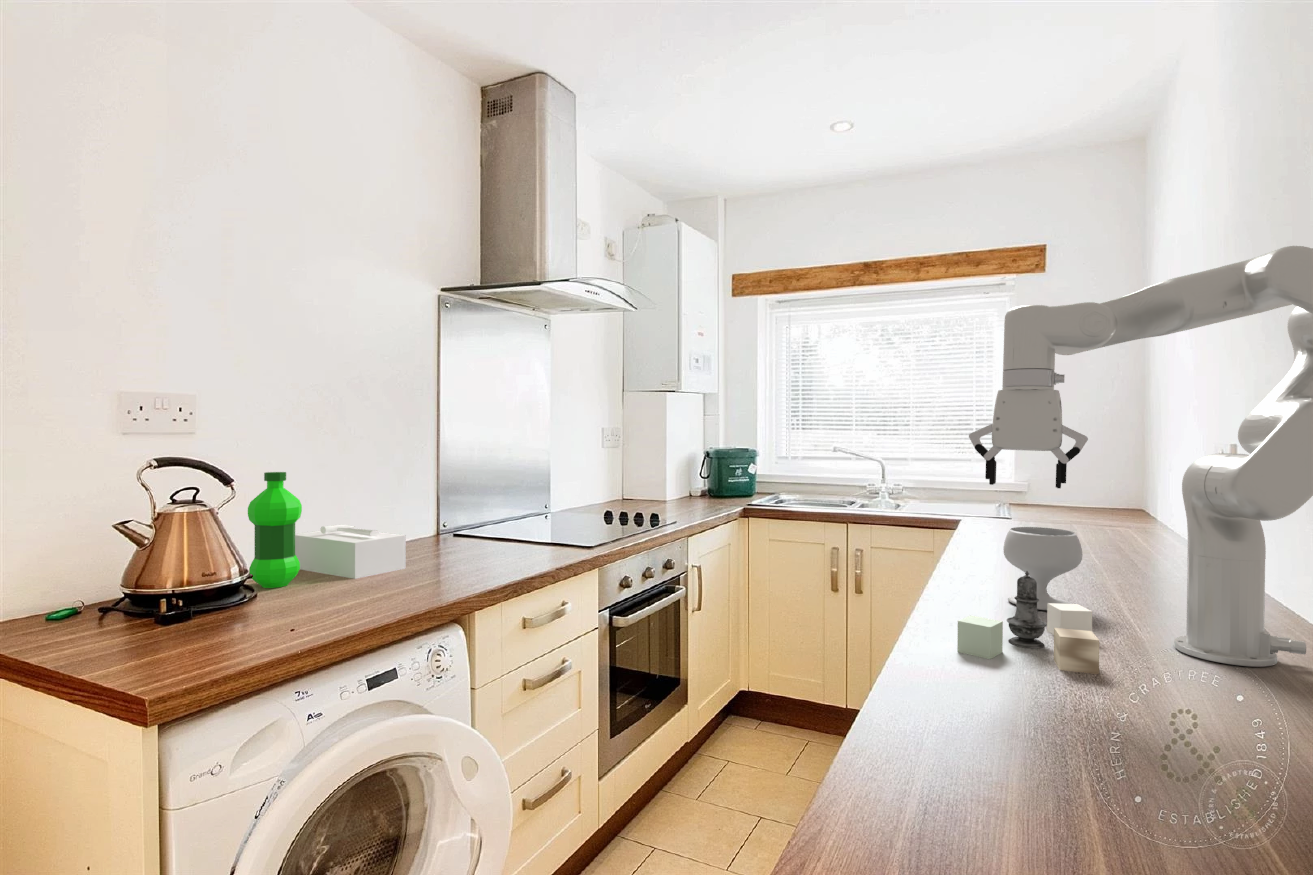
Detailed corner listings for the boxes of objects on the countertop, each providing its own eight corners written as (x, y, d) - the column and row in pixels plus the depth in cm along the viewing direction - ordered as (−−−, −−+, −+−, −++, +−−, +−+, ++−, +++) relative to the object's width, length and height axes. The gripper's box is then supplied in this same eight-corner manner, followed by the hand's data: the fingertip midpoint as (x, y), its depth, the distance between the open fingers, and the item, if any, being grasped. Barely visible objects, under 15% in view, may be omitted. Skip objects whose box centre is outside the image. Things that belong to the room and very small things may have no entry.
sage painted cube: (1002, 652, 111) (1002, 621, 111) (990, 659, 107) (990, 627, 107) (970, 645, 114) (970, 615, 114) (957, 652, 111) (957, 620, 111)
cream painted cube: (1077, 632, 122) (1077, 604, 122) (1091, 641, 117) (1092, 611, 117) (1047, 631, 123) (1047, 603, 123) (1060, 639, 118) (1060, 610, 118)
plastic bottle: (286, 590, 150) (286, 474, 150) (237, 590, 150) (237, 473, 150) (310, 580, 160) (310, 471, 160) (264, 580, 160) (264, 471, 160)
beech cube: (1091, 664, 106) (1091, 631, 106) (1098, 674, 101) (1099, 640, 101) (1053, 660, 107) (1053, 627, 107) (1059, 670, 103) (1059, 636, 103)
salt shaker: (1052, 650, 112) (1052, 575, 112) (1012, 647, 113) (1013, 573, 113) (1039, 639, 118) (1040, 568, 118) (1002, 637, 119) (1002, 566, 119)
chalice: (1066, 617, 132) (1067, 538, 132) (991, 603, 142) (991, 530, 142) (1092, 606, 141) (1092, 531, 141) (1019, 593, 151) (1020, 524, 151)
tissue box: (341, 559, 188) (341, 519, 187) (405, 569, 175) (405, 525, 175) (290, 568, 175) (290, 525, 175) (355, 579, 162) (355, 532, 162)
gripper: (1089, 383, 114) (1086, 488, 114) (973, 384, 123) (970, 481, 123) (1090, 379, 108) (1086, 490, 108) (967, 381, 116) (964, 484, 117)
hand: (1024, 485), depth 115 cm, fingers open, 9 cm apart
